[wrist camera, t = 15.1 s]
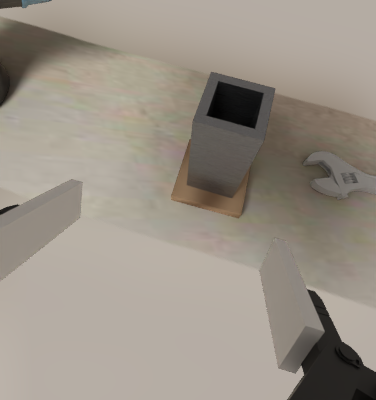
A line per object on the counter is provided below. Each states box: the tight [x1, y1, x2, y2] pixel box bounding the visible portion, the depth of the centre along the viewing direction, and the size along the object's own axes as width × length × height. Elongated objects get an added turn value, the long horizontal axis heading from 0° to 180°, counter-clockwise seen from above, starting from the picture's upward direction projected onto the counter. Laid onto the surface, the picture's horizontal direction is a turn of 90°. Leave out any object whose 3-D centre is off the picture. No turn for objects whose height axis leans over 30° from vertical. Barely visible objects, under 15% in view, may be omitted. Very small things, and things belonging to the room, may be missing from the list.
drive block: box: [171, 139, 251, 218], centre depth 31 cm, size 9×9×6 cm
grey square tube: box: [187, 72, 275, 198], centre depth 26 cm, size 6×6×12 cm
